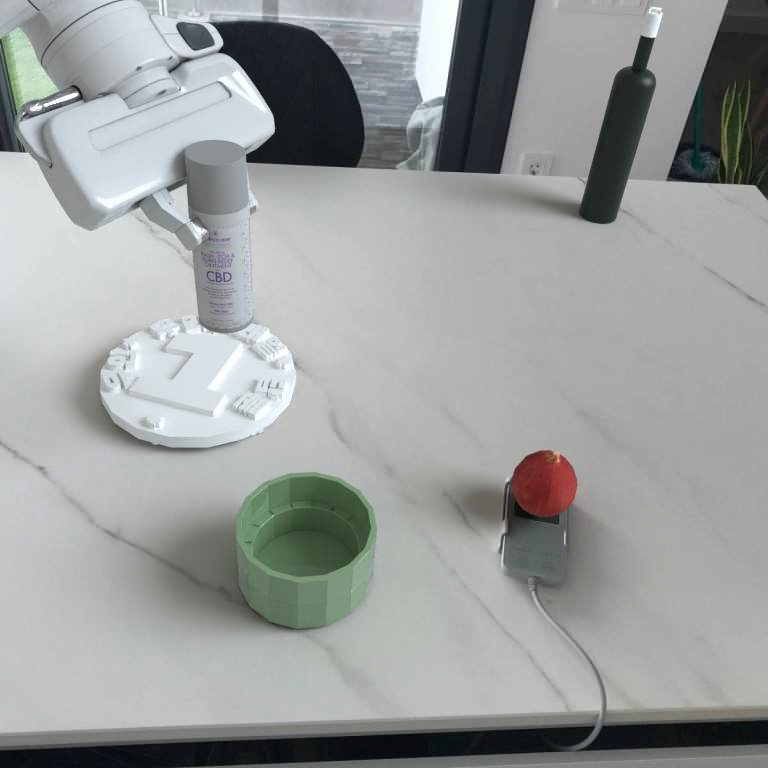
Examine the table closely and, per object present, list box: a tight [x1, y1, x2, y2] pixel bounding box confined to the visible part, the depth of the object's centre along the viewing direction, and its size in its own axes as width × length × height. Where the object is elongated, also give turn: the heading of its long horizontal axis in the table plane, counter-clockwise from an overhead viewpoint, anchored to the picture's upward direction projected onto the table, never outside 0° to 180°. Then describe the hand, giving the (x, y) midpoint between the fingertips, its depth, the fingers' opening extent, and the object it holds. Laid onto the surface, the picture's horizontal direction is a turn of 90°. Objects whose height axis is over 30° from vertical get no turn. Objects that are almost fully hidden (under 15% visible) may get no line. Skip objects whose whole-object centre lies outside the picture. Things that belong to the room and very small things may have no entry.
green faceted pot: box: [235, 471, 378, 630], centre depth 63 cm, size 11×11×6 cm
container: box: [184, 140, 255, 333], centre depth 62 cm, size 5×5×15 cm
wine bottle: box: [578, 5, 664, 224], centre depth 111 cm, size 6×6×30 cm
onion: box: [511, 449, 579, 518], centre depth 70 cm, size 6×6×8 cm
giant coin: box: [99, 313, 297, 449], centre depth 81 cm, size 20×20×3 cm
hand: (226, 229), depth 61 cm, fingers closed on container, 4 cm apart
